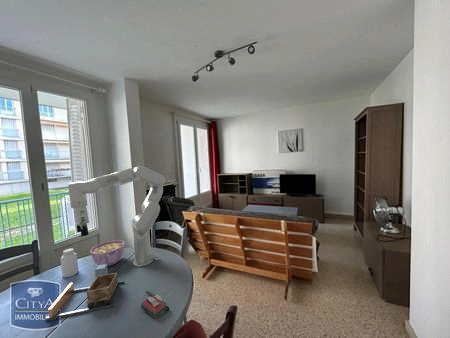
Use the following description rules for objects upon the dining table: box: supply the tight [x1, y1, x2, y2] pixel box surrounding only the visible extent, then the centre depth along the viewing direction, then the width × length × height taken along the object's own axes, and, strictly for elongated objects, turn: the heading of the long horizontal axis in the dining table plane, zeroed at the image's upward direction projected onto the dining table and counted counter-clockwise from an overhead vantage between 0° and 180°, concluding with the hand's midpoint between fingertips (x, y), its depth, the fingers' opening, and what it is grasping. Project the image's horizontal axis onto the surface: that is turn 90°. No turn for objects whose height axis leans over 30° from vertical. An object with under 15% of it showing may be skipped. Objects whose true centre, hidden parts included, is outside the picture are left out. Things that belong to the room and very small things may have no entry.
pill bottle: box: [60, 248, 79, 278], centre depth 123 cm, size 8×8×15 cm
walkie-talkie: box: [140, 290, 170, 320], centre depth 93 cm, size 9×4×20 cm
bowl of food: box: [89, 239, 125, 267], centre depth 133 cm, size 20×20×12 cm
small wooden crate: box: [85, 272, 120, 308], centre depth 101 cm, size 10×15×8 cm, turn 14°
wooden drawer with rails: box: [45, 280, 125, 321], centre depth 99 cm, size 27×19×5 cm
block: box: [94, 264, 109, 278], centre depth 115 cm, size 4×4×8 cm
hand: (82, 233), depth 113 cm, fingers open, 9 cm apart
